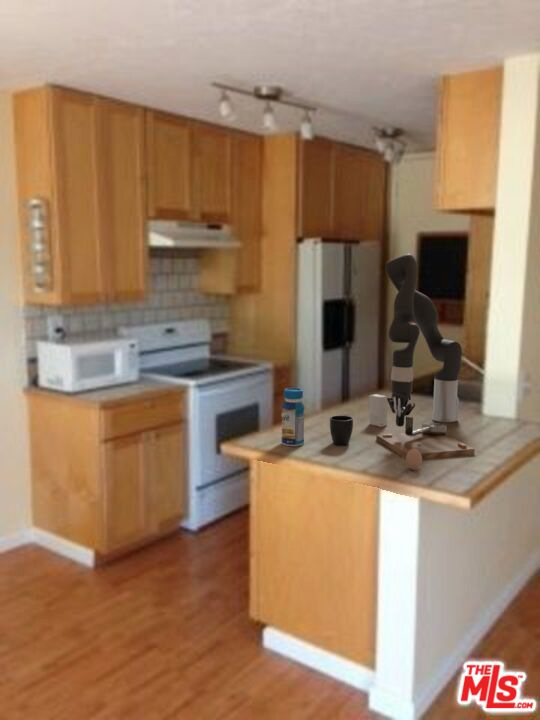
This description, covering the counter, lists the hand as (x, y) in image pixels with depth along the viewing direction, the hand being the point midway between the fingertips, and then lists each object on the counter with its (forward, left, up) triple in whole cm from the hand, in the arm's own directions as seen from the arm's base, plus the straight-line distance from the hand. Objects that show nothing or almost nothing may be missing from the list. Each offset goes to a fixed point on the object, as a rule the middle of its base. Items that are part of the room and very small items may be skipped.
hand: (399, 425), depth 242 cm
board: (-7, +6, -7) cm, 11 cm away
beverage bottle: (+37, -10, -7) cm, 39 cm away
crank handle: (-10, -1, -4) cm, 11 cm away
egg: (+9, +28, -7) cm, 30 cm away
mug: (+19, -7, -7) cm, 22 cm away
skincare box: (-4, -26, -7) cm, 28 cm away
